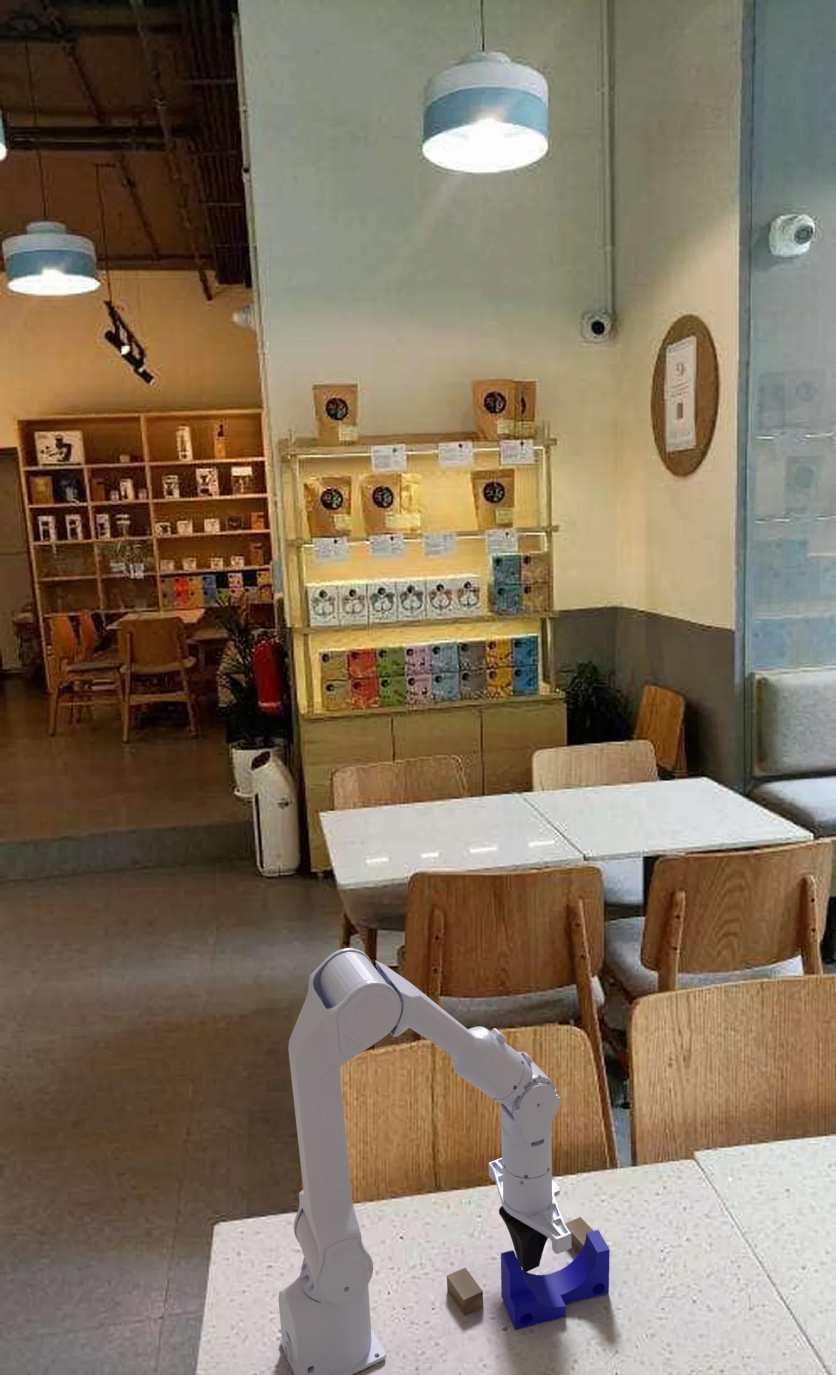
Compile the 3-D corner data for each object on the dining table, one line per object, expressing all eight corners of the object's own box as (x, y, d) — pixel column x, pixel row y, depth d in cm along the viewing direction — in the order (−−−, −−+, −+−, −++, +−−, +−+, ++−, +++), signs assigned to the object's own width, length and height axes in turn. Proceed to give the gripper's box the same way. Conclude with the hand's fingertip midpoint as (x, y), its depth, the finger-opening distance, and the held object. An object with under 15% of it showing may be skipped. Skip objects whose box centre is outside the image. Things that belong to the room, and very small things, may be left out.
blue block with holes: (515, 1330, 105) (514, 1285, 103) (501, 1296, 109) (500, 1253, 108) (614, 1304, 108) (615, 1259, 106) (597, 1272, 112) (598, 1229, 111)
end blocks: (464, 1315, 107) (463, 1300, 107) (447, 1290, 111) (446, 1275, 110) (600, 1251, 115) (600, 1237, 115) (580, 1230, 119) (580, 1216, 119)
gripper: (593, 1187, 105) (594, 1295, 107) (521, 1117, 118) (524, 1214, 120) (540, 1210, 102) (542, 1320, 104) (472, 1135, 115) (476, 1234, 117)
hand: (529, 1265), depth 112 cm, fingers closed
